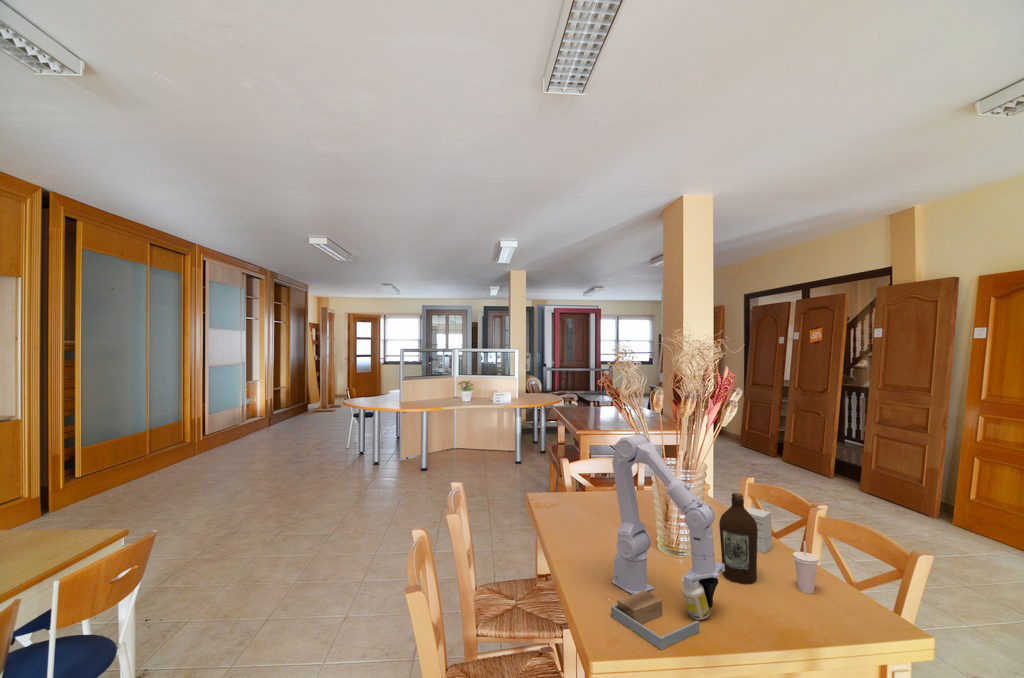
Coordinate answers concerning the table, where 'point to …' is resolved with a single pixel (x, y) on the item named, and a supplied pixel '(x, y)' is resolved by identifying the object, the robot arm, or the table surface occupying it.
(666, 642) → the grey bracket
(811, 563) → the smoothie
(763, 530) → the supplement box
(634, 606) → the block
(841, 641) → the table surface
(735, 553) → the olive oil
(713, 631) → the table surface
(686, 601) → the supplement bottle
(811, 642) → the table surface
